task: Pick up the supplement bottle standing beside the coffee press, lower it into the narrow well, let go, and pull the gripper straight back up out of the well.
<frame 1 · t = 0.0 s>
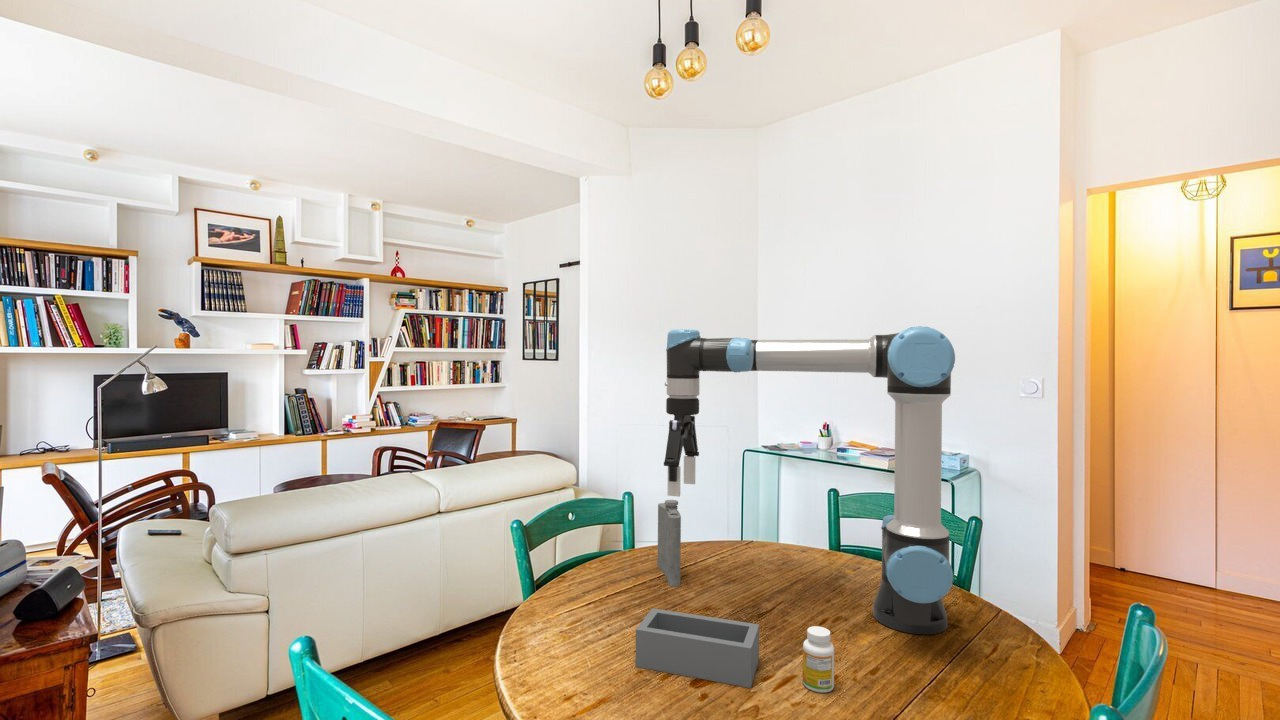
hand: (682, 489, 138), 28 cm above the table, tool pointing down, fingers open, 13 cm apart
hip flask: (670, 576, 161), on the table
well: (697, 663, 114), on the table
supplement bottle: (818, 686, 107), on the table
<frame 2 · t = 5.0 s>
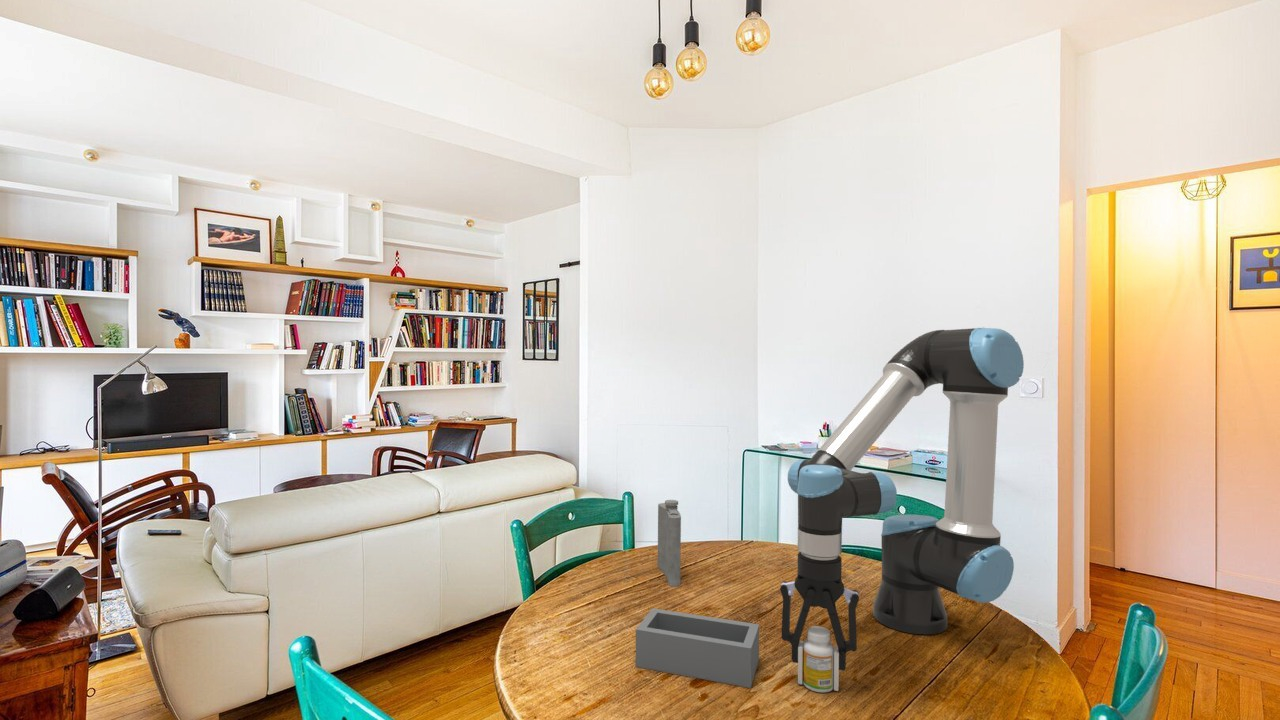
hand: (818, 683, 107), 0 cm above the table, tool pointing down, fingers closed on supplement bottle, 5 cm apart
supplement bottle: (818, 686, 107), on the table, touching gripper
everything else where it was.
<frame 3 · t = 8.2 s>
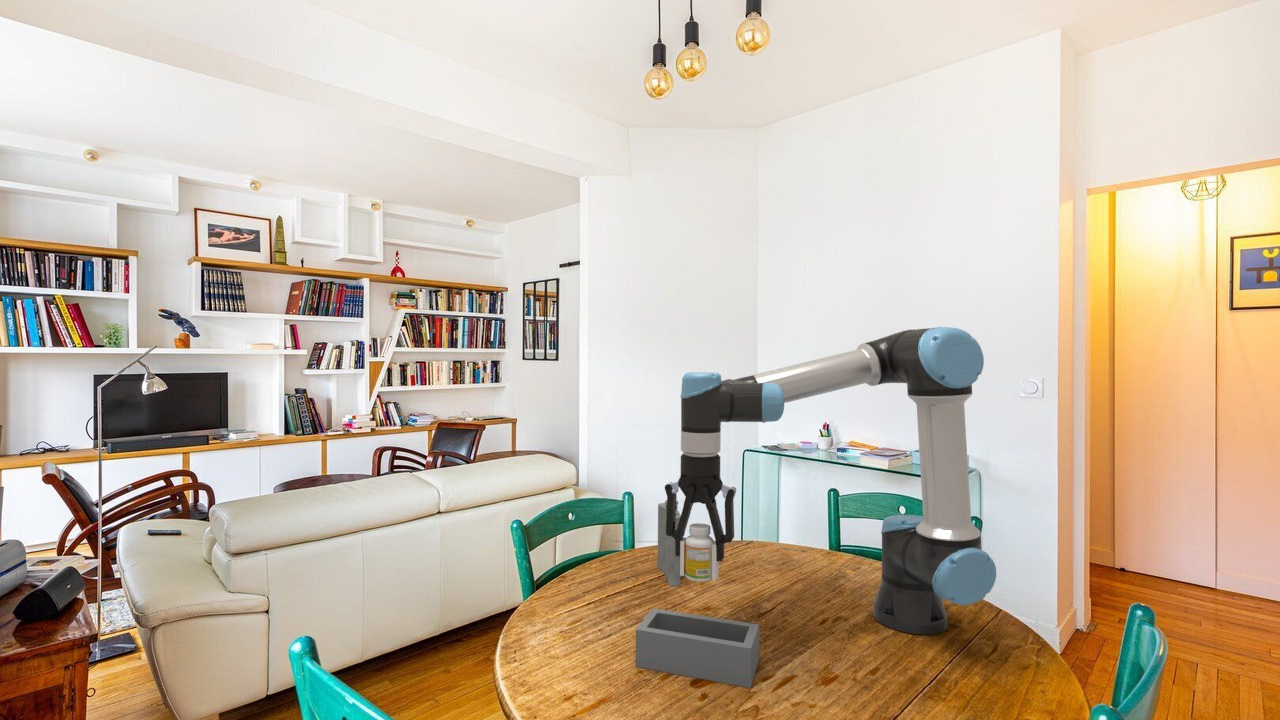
hand: (699, 575, 114), 17 cm above the table, tool pointing down, fingers closed on supplement bottle, 5 cm apart
supplement bottle: (699, 578, 114), point 16 cm above the table, touching gripper
everything else where it was.
when the fingers open (3 cm above the table, at t = 11.4 s): supplement bottle drops 2 cm, resting on well.
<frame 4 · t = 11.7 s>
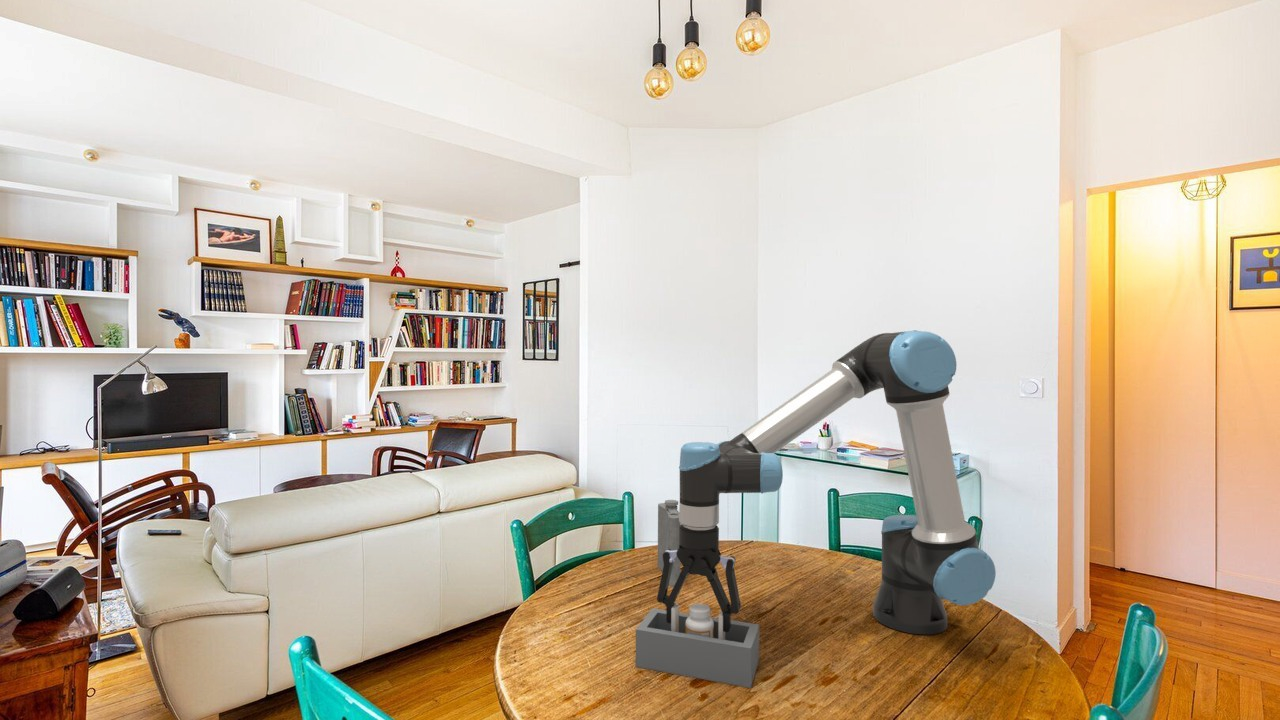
hand: (698, 643, 114), 4 cm above the table, tool pointing down, fingers open, 8 cm apart
supplement bottle: (699, 659, 114), point 1 cm above the table, touching well
everything else where it was.
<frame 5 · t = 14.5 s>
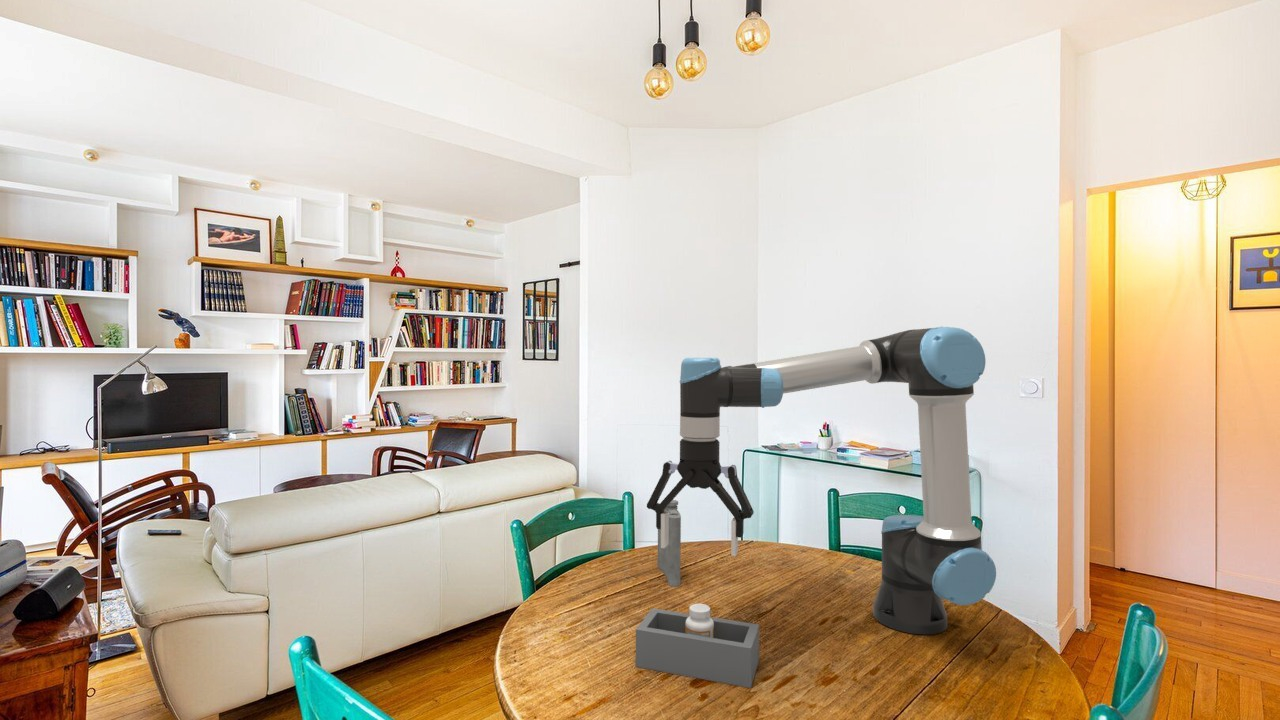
hand: (698, 550, 114), 22 cm above the table, tool pointing down, fingers open, 13 cm apart
nothing on the table moved.
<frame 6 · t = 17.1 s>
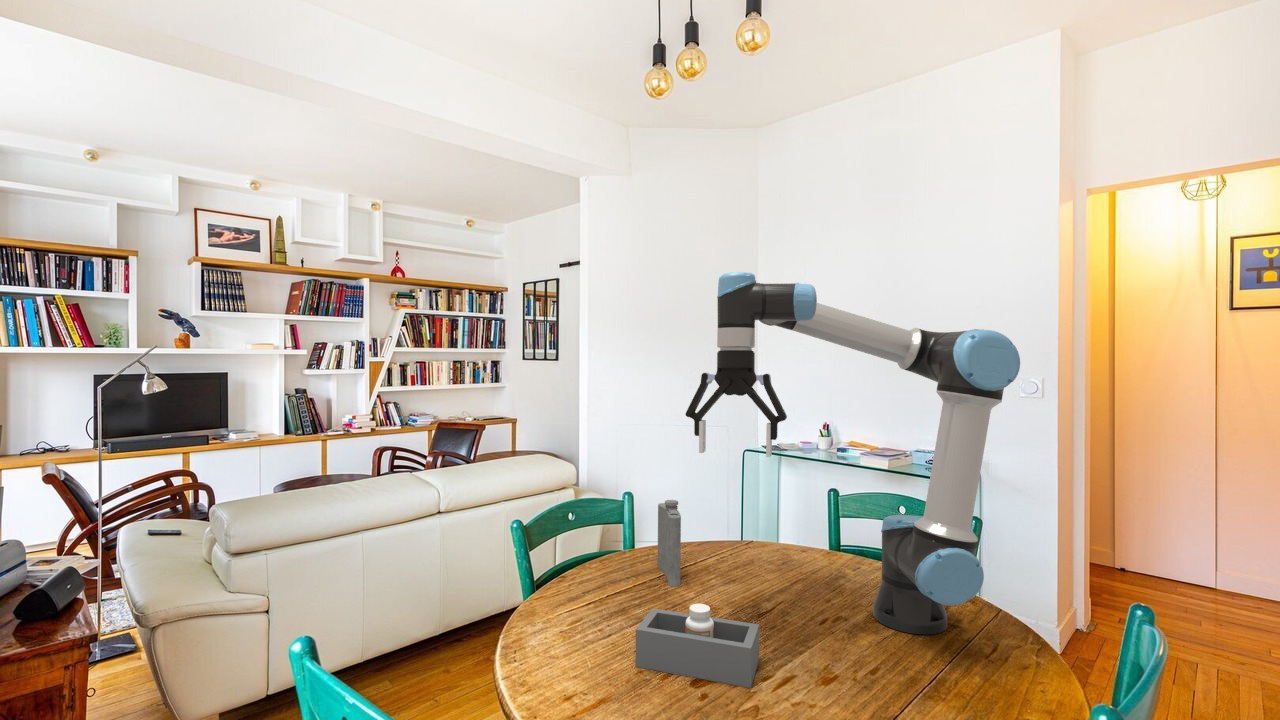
hand: (735, 454, 122), 39 cm above the table, tool pointing down, fingers open, 13 cm apart
nothing on the table moved.
at the end: supplement bottle inside the target area on the well (0.3 cm from its centre), point 0.8 cm above the well's base; supplement bottle tilted 0°; the gripper is holding nothing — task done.
